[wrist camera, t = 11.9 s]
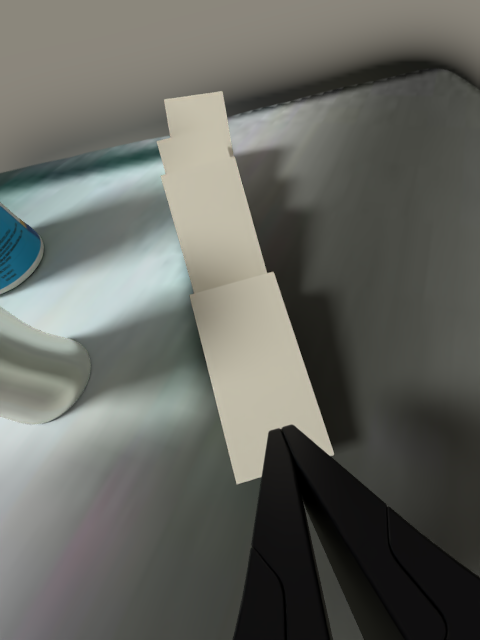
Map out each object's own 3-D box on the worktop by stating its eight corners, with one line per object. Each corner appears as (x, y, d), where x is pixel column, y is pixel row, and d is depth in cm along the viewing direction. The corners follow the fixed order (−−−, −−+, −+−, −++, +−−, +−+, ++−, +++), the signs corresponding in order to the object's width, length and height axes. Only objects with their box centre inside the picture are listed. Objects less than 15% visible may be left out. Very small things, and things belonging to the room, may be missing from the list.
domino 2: (275, 303, 16) (234, 156, 16) (203, 323, 16) (160, 175, 16) (270, 304, 18) (234, 175, 18) (206, 322, 18) (169, 193, 18)
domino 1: (334, 454, 12) (273, 271, 14) (236, 484, 12) (189, 294, 14) (320, 441, 14) (269, 284, 16) (238, 466, 14) (197, 304, 16)
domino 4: (241, 206, 20) (222, 91, 20) (183, 215, 20) (164, 99, 20) (241, 217, 22) (223, 114, 23) (188, 225, 22) (170, 121, 22)
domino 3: (256, 252, 18) (221, 124, 18) (192, 269, 18) (156, 141, 18) (254, 259, 20) (222, 146, 20) (197, 275, 20) (165, 161, 20)
